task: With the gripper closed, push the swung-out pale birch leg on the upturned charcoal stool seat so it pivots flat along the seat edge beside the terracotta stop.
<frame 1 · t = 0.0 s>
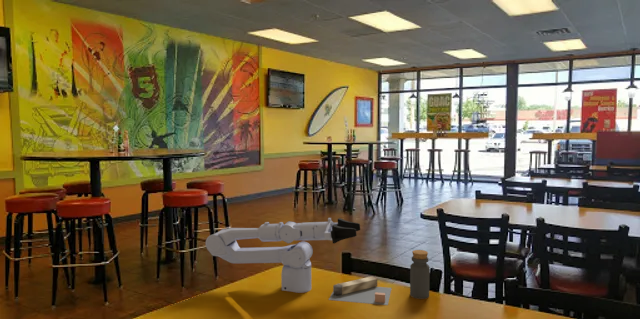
hand: (358, 229, 136), 22 cm above the table, tool horizontal, fingers open, 7 cm apart
leg stop: (380, 301, 132), resting on stool seat
stool leg: (354, 285, 141), point 3 cm above the table, hinge at 45.0°
stool seat: (361, 297, 138), on the table
bottle: (419, 299, 137), on the table
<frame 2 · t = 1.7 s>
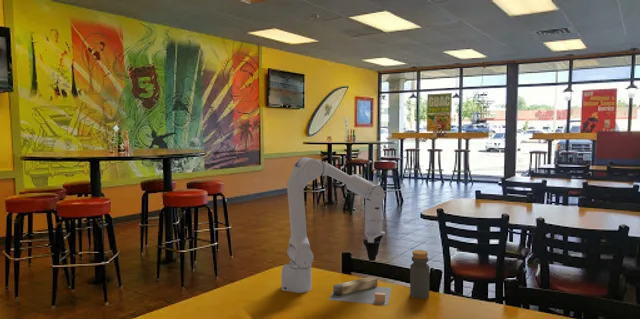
hand: (373, 257, 151), 8 cm above the table, tool pointing down, fingers open, 6 cm apart
nothing on the table moved.
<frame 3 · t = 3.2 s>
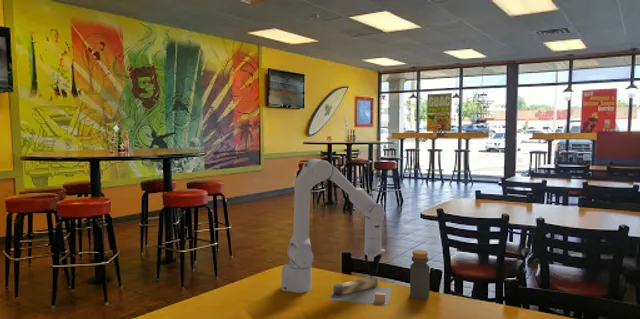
hand: (373, 275, 152), 2 cm above the table, tool pointing down, fingers closed
nothing on the table moved.
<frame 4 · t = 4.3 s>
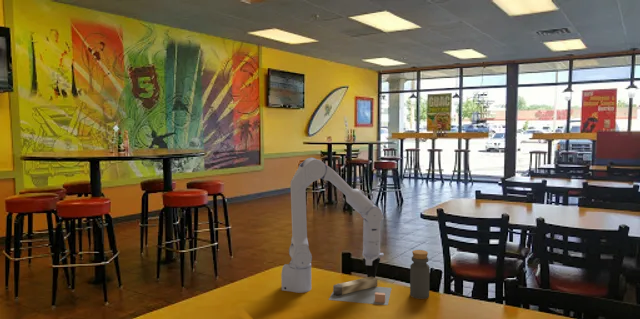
hand: (371, 279, 147), 2 cm above the table, tool pointing down, fingers closed, pressing on stool leg
stool leg: (354, 285, 141), point 3 cm above the table, hinge at 45.0°, touching gripper
everything else where it was.
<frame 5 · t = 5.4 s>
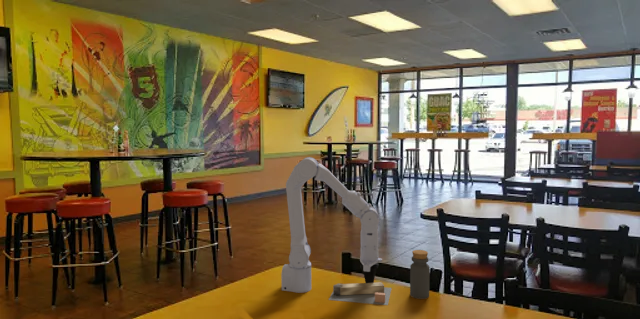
hand: (369, 286, 141), 2 cm above the table, tool pointing down, fingers closed
stool leg: (358, 288, 138), point 3 cm above the table, hinge at 20.2°, touching gripper
everything else where it was.
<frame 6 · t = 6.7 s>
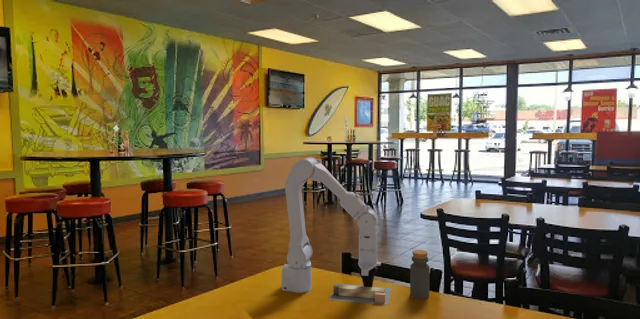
hand: (368, 290, 138), 2 cm above the table, tool pointing down, fingers closed
stool leg: (358, 291, 136), point 3 cm above the table, hinge at -0.2°, touching gripper
everything else where it was.
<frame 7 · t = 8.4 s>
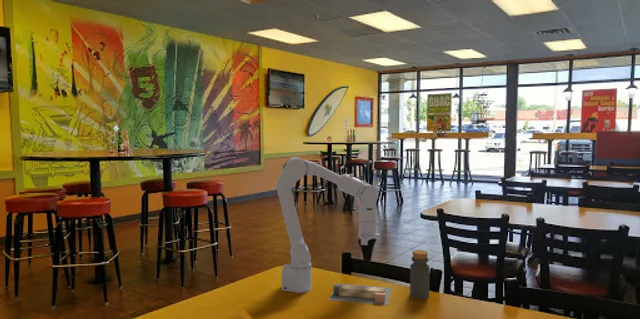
hand: (367, 260, 145), 9 cm above the table, tool pointing down, fingers closed
stool leg: (358, 291, 136), point 3 cm above the table, hinge at -0.2°
everything else where it was.
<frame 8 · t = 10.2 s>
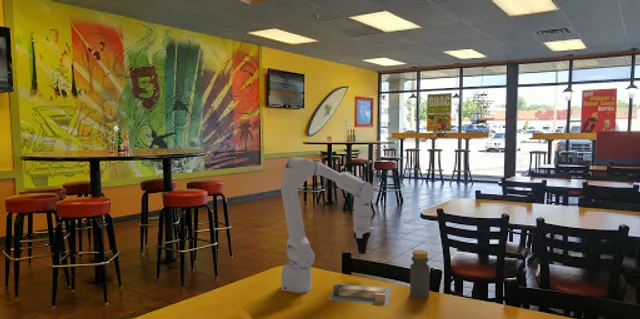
hand: (362, 253, 153), 9 cm above the table, tool pointing down, fingers closed
nothing on the table moved.
at the end: stool leg at +0° (first picture: +45°) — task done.
